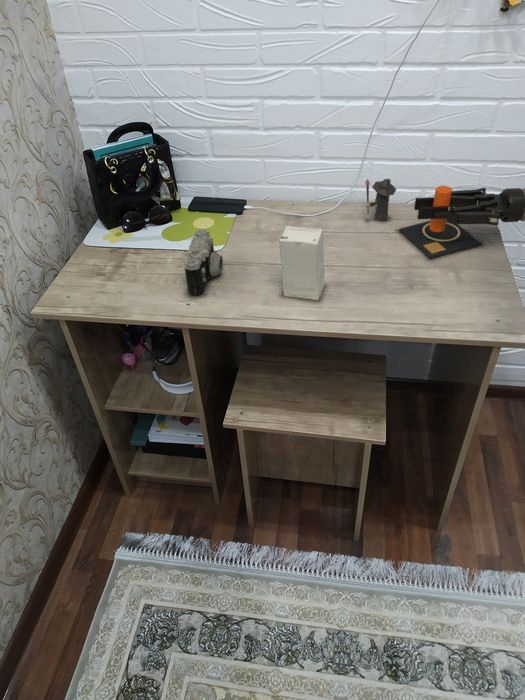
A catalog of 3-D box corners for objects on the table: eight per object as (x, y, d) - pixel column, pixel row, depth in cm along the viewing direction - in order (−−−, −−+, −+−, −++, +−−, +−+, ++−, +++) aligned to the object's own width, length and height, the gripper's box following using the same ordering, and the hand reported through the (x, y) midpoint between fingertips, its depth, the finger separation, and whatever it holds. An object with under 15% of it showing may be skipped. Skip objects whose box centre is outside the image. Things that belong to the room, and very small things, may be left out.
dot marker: (444, 236, 134) (452, 193, 127) (428, 235, 135) (435, 192, 127) (443, 228, 137) (451, 185, 129) (428, 227, 137) (435, 185, 130)
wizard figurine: (379, 210, 151) (383, 167, 143) (396, 217, 148) (401, 173, 140) (359, 222, 147) (362, 178, 139) (376, 229, 144) (381, 185, 136)
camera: (216, 297, 127) (211, 260, 120) (186, 297, 128) (180, 259, 121) (227, 260, 137) (222, 223, 131) (199, 259, 138) (194, 223, 131)
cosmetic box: (324, 286, 128) (326, 228, 118) (318, 302, 124) (319, 243, 114) (288, 281, 130) (287, 223, 120) (281, 296, 126) (278, 238, 116)
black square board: (480, 245, 137) (481, 242, 136) (430, 259, 133) (430, 256, 133) (446, 218, 146) (447, 215, 146) (399, 230, 143) (399, 228, 143)
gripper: (527, 238, 127) (421, 242, 128) (505, 202, 139) (408, 205, 140) (537, 208, 122) (425, 211, 123) (513, 173, 134) (412, 177, 135)
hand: (417, 208), depth 132 cm, fingers closed on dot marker, 4 cm apart
